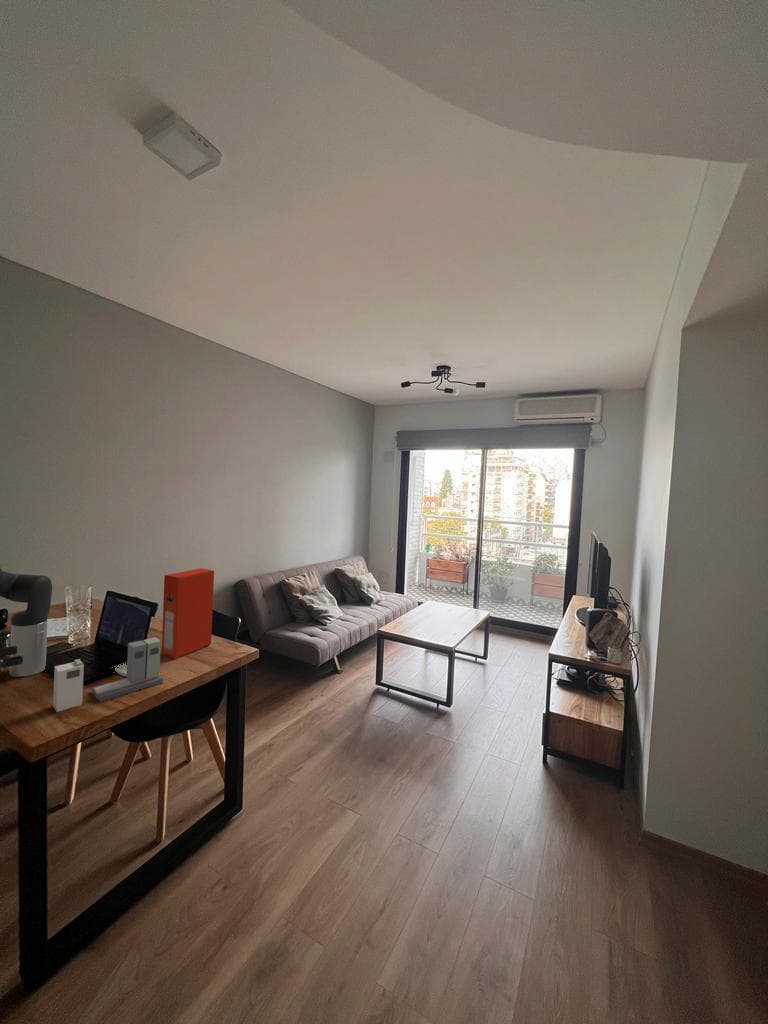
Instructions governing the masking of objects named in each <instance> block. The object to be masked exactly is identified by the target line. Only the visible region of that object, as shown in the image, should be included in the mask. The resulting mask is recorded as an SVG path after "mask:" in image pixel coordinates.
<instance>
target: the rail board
mask: <svg viewBox="0 0 768 1024" xmlns="http://www.w3.org/2000/svg"><path fill="white" fill-rule="evenodd" d="M161 652H162V640H160V639H159V638H157V637H152V638H147V639H143V640H137V641H133V642H128V643H127V657H126V658H127V659H126V662H127V677H125V678H122V679H120V680H115V681H111V682H108V683H105V684H100V685H96V686H92V688H91V693H92V694H93V695H94V697H95V698H96V699H97V700H98V702H100V703H102V702H106V701H108V700H112V699H115V698H119V697H121V695H122V696H124V694H125V695H128V694H130V692H132V693H134V692H133V691H135V692H137V691H136V690H138V691H140V690H139V689H141V690H144V689H143V688H145V689H147V688H146V687H148V688H150V686H151V687H154V686H153V685H155V686H157V685H156V684H158V685H161V684H163V681H164V678H162V676H161V674H160V667H161ZM160 683H161V684H160ZM127 693H128V694H127ZM114 697H115V698H114ZM111 698H112V699H111Z"/></svg>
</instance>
